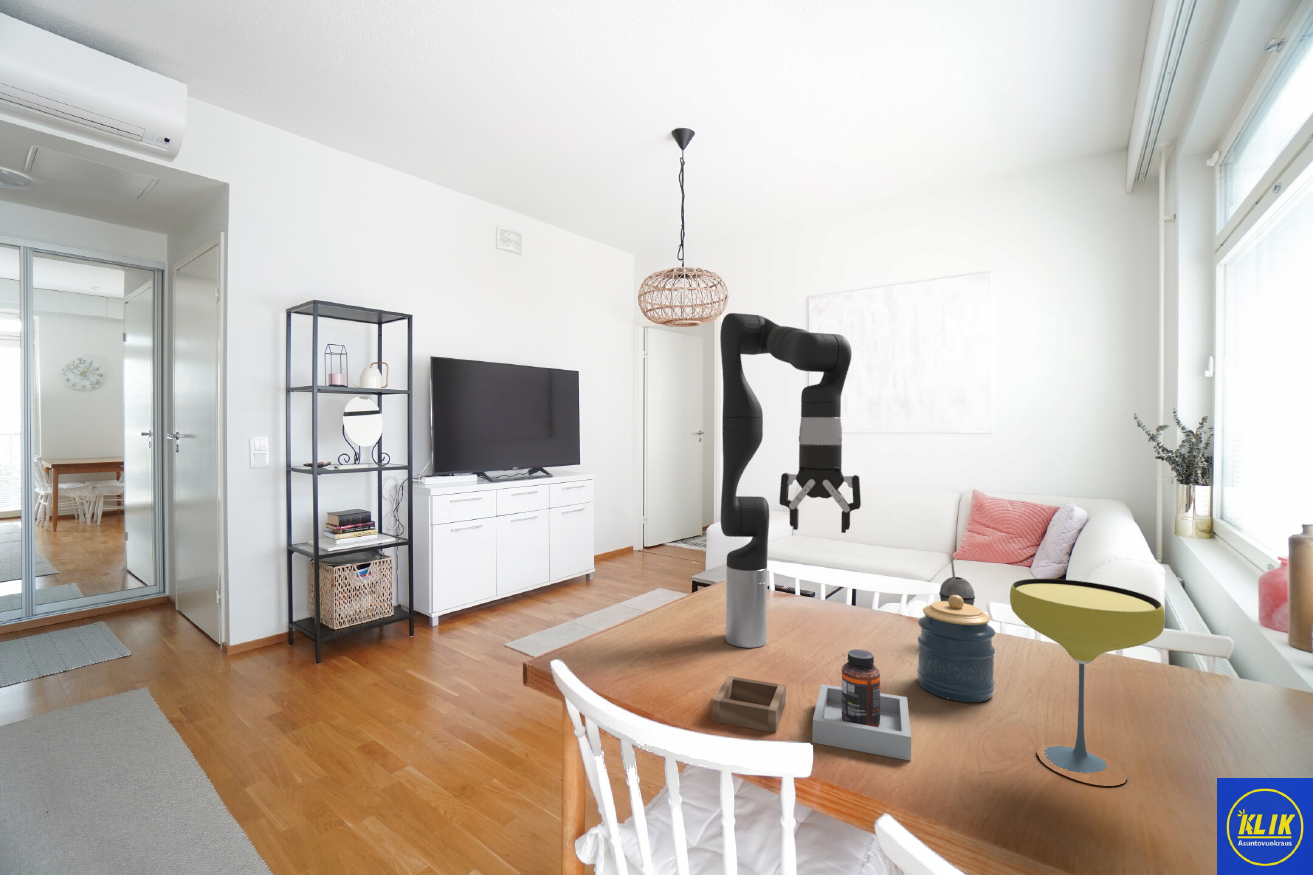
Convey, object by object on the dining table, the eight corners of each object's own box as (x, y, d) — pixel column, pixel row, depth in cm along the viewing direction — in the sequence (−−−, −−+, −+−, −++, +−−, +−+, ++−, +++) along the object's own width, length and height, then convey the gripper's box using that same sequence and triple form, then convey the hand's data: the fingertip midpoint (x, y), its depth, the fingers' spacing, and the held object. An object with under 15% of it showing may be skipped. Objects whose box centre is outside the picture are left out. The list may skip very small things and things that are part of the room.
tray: (820, 703, 104) (821, 683, 104) (906, 717, 99) (906, 697, 99) (812, 742, 91) (812, 719, 91) (910, 760, 86) (911, 736, 86)
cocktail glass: (1197, 794, 79) (1200, 608, 79) (1086, 811, 75) (1089, 615, 75) (1075, 728, 96) (1077, 575, 96) (980, 739, 93) (982, 580, 92)
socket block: (727, 694, 107) (727, 675, 107) (785, 704, 104) (785, 684, 104) (712, 720, 98) (712, 699, 98) (775, 732, 94) (775, 710, 94)
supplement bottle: (879, 717, 97) (880, 649, 97) (880, 734, 92) (881, 662, 92) (841, 711, 99) (842, 644, 99) (840, 728, 94) (841, 657, 94)
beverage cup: (979, 653, 129) (980, 562, 129) (943, 650, 131) (944, 560, 131) (968, 641, 136) (969, 555, 136) (934, 639, 138) (935, 553, 138)
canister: (990, 681, 114) (992, 591, 114) (998, 710, 103) (999, 608, 102) (917, 669, 120) (918, 583, 120) (916, 695, 108) (917, 599, 108)
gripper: (862, 442, 109) (860, 530, 109) (784, 441, 114) (783, 525, 114) (860, 443, 102) (859, 536, 102) (777, 442, 107) (776, 531, 107)
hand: (819, 530), depth 108 cm, fingers open, 8 cm apart
